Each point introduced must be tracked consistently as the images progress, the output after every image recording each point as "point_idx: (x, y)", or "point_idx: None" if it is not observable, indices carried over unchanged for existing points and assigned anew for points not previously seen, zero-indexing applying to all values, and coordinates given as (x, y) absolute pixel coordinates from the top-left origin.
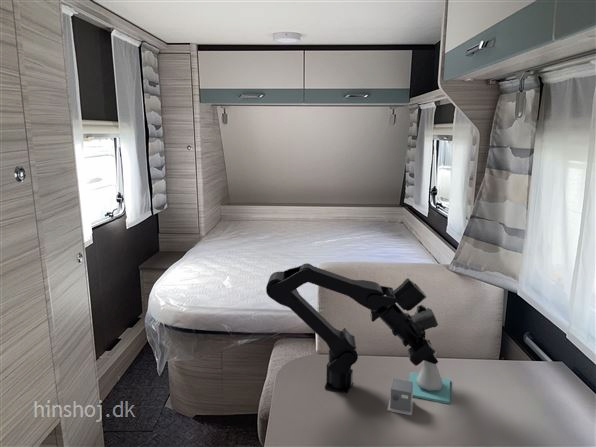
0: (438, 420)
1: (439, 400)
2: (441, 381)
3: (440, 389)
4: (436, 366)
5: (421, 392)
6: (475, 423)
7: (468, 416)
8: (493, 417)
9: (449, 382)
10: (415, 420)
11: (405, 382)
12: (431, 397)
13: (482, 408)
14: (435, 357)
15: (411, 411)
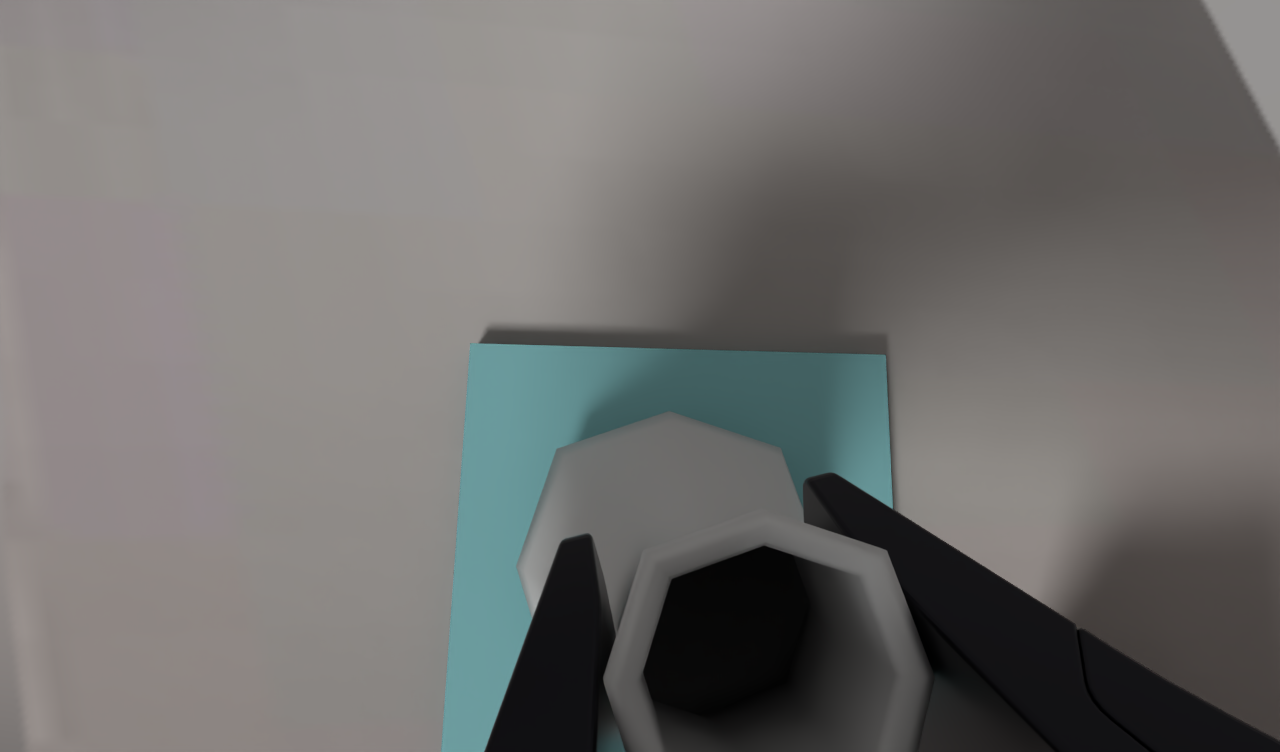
0: (1166, 462)
1: (888, 452)
2: (690, 427)
3: None
4: (723, 496)
5: None
6: (1072, 165)
7: (1000, 212)
8: (934, 29)
9: (539, 349)
10: (1262, 675)
11: None
12: None
13: (840, 95)
14: (901, 536)
15: None
